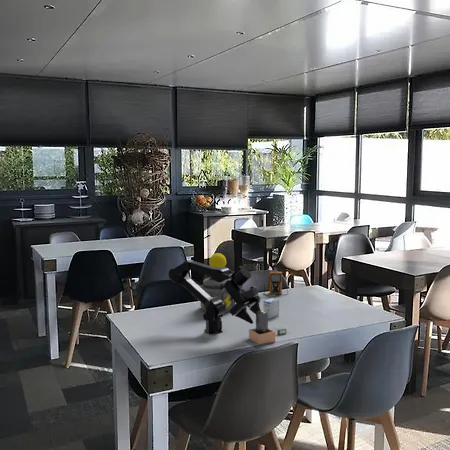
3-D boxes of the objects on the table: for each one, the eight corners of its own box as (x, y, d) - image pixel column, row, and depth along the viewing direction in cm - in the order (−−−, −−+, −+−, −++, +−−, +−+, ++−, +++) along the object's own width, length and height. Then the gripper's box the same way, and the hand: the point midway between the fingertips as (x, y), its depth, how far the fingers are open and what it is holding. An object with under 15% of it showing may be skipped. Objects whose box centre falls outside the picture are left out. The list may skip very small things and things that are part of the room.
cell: (256, 341, 209) (256, 312, 208) (255, 337, 214) (255, 309, 213) (268, 341, 209) (268, 312, 208) (267, 337, 214) (267, 309, 213)
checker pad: (273, 337, 216) (273, 331, 216) (261, 330, 225) (261, 325, 225) (292, 333, 221) (292, 328, 221) (279, 327, 230) (279, 322, 230)
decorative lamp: (242, 310, 261) (242, 253, 258) (212, 315, 250) (212, 257, 247) (222, 302, 276) (222, 249, 273) (193, 307, 265) (193, 252, 262)
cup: (258, 345, 206) (258, 334, 206) (248, 339, 213) (248, 329, 213) (275, 342, 210) (275, 331, 209) (265, 336, 217) (265, 326, 217)
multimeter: (262, 296, 290) (262, 262, 288) (263, 292, 300) (264, 260, 298) (287, 297, 287) (287, 263, 285) (288, 293, 297) (288, 260, 295)
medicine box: (271, 314, 252) (272, 297, 251) (279, 316, 249) (279, 299, 248) (263, 317, 246) (263, 300, 245) (270, 319, 243) (270, 302, 242)
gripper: (236, 284, 205) (259, 314, 200) (257, 277, 221) (279, 304, 216) (220, 300, 210) (242, 330, 205) (241, 291, 226) (262, 319, 221)
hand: (257, 320), depth 212 cm, fingers open, 9 cm apart
